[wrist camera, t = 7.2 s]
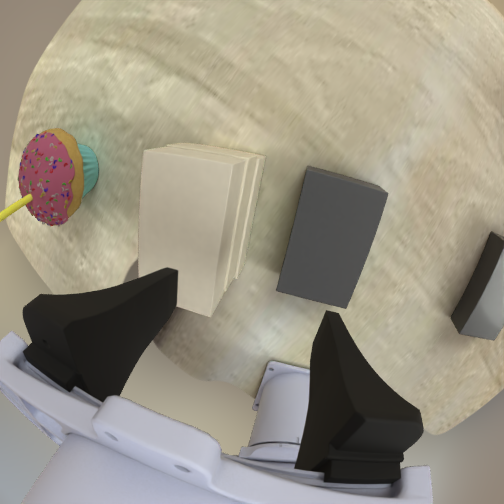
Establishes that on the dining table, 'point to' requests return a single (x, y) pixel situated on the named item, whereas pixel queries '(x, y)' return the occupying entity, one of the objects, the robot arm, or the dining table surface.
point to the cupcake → (54, 177)
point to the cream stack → (245, 203)
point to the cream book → (189, 220)
